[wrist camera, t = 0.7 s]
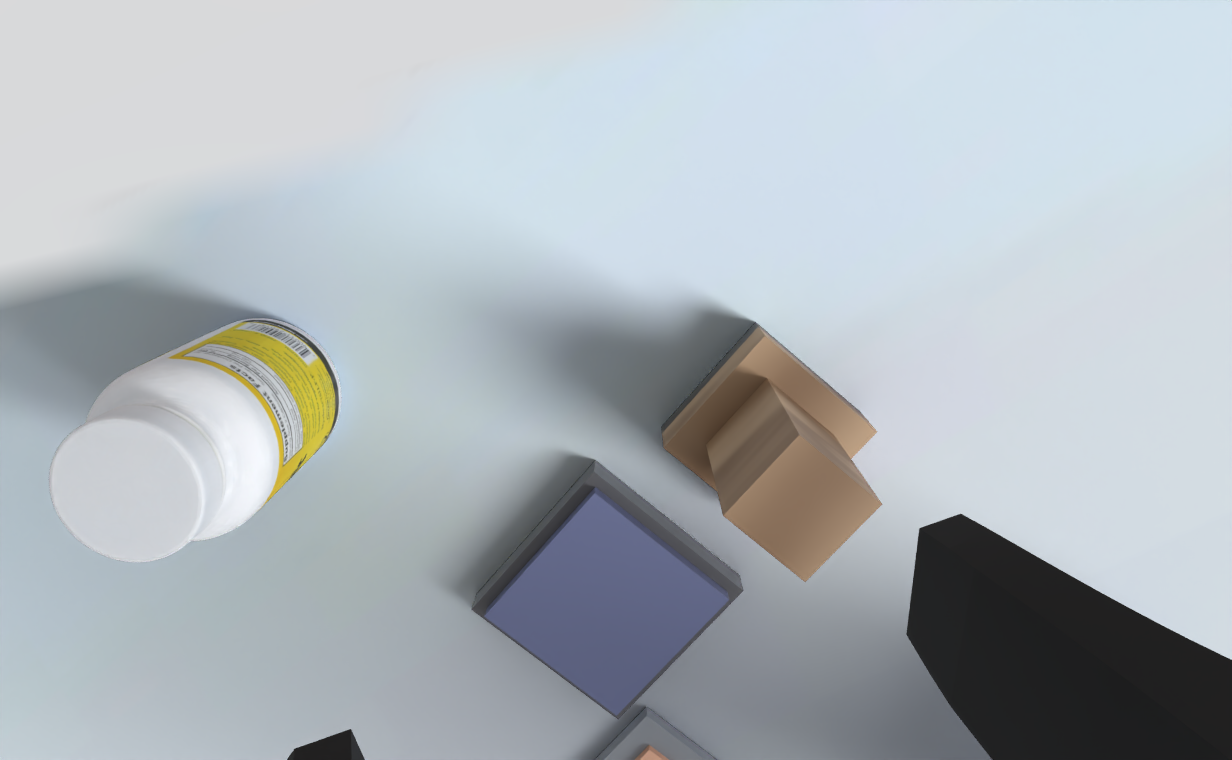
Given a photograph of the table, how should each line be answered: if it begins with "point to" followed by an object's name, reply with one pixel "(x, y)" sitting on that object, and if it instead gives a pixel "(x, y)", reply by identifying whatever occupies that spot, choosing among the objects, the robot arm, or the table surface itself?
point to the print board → (652, 742)
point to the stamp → (776, 451)
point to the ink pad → (607, 591)
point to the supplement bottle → (195, 440)
